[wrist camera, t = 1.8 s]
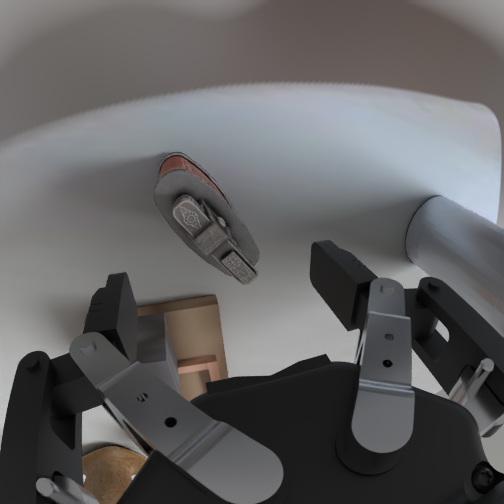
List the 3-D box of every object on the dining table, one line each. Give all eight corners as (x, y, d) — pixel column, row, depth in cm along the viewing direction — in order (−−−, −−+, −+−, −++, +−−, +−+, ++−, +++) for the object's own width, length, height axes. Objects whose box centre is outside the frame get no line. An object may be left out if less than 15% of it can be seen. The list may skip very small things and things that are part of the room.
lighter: (148, 171, 22) (135, 213, 14) (181, 142, 22) (188, 165, 13) (213, 239, 26) (238, 310, 18) (244, 214, 26) (284, 273, 17)
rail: (215, 294, 29) (231, 349, 22) (235, 428, 41) (247, 469, 34) (87, 313, 26) (73, 370, 20) (154, 440, 38) (158, 481, 32)
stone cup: (104, 431, 35) (106, 520, 22) (159, 456, 41) (170, 532, 28) (57, 451, 36) (54, 522, 23) (107, 473, 42) (112, 538, 29)
